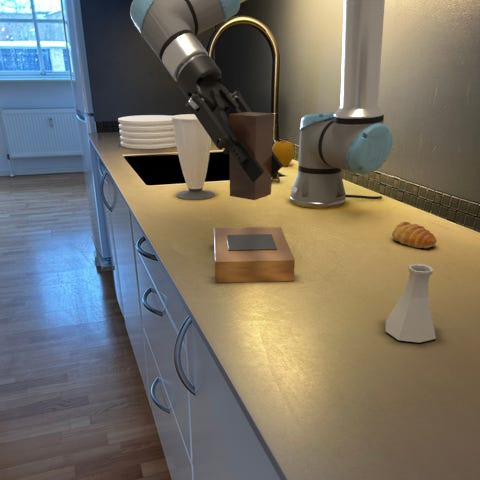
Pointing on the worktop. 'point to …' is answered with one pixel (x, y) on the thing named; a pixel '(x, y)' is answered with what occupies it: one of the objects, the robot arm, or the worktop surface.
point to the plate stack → (147, 132)
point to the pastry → (413, 235)
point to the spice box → (260, 145)
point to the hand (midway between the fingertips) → (268, 173)
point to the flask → (413, 309)
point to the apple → (284, 152)
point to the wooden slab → (252, 255)
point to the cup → (192, 155)
